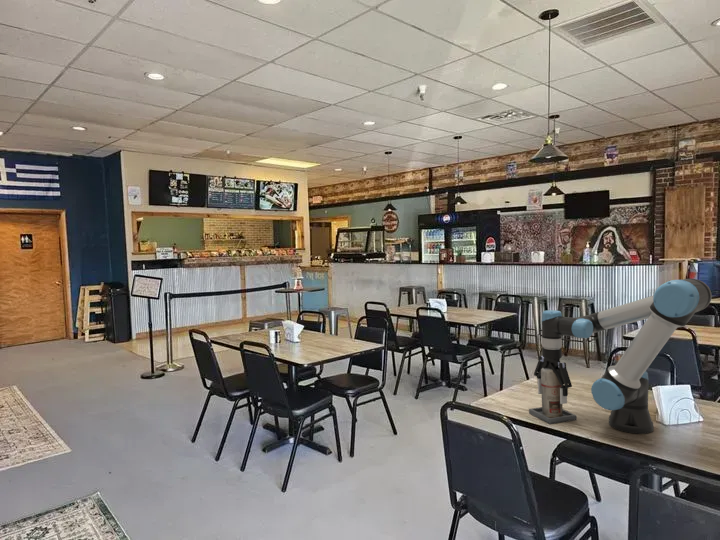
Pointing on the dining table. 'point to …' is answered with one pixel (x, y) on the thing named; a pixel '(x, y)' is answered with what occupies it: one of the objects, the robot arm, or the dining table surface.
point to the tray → (565, 418)
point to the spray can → (550, 394)
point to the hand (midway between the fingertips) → (552, 398)
